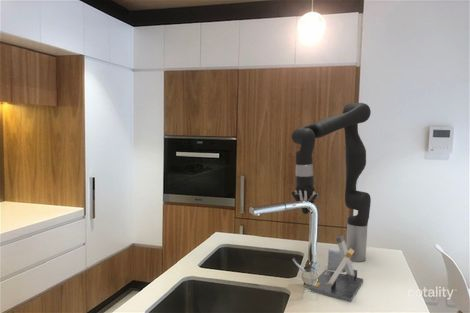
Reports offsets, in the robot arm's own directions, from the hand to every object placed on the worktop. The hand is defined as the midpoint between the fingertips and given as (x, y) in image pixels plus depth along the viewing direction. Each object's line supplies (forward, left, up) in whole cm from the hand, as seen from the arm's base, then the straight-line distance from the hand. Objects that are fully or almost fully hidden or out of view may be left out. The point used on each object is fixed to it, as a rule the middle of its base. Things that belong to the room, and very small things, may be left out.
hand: (305, 213), depth 155 cm
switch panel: (+7, +17, -26) cm, 32 cm away
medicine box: (-10, +12, -26) cm, 30 cm away
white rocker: (+14, +15, -24) cm, 31 cm away
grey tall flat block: (+1, +21, -24) cm, 32 cm away
